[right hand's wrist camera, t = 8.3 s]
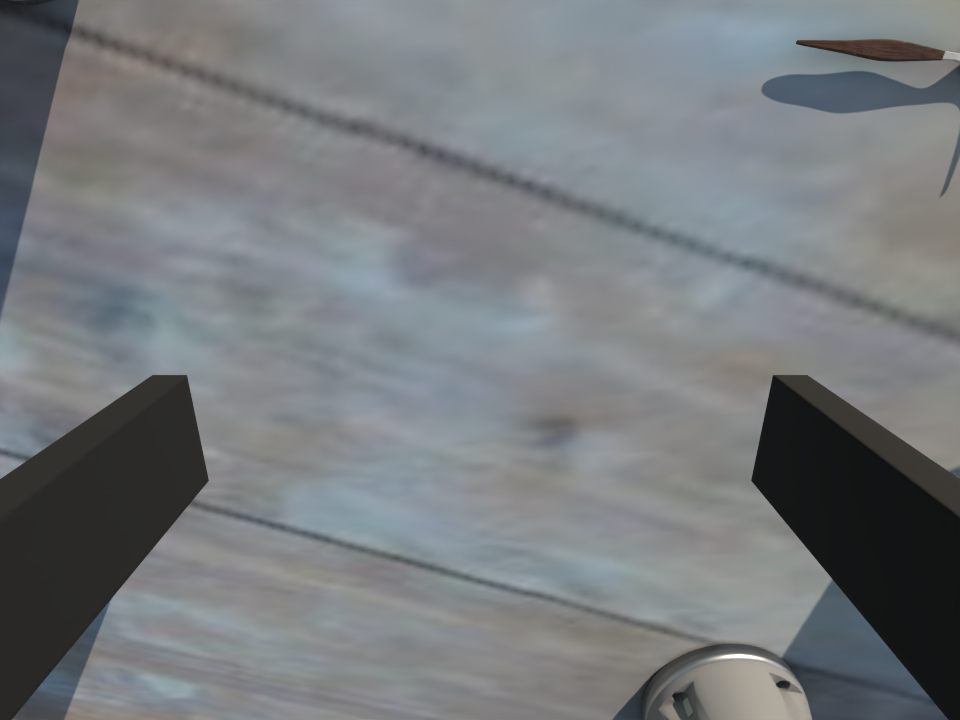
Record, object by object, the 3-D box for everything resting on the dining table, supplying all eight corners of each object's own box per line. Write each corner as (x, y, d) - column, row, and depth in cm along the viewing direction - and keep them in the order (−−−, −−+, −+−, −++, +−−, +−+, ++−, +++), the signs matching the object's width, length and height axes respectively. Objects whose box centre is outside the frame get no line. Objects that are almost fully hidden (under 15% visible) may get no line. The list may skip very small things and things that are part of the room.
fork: (798, 19, 33) (817, 11, 31) (1052, 42, 34) (1086, 36, 32) (786, 67, 34) (803, 62, 32) (1033, 89, 34) (1065, 86, 33)
